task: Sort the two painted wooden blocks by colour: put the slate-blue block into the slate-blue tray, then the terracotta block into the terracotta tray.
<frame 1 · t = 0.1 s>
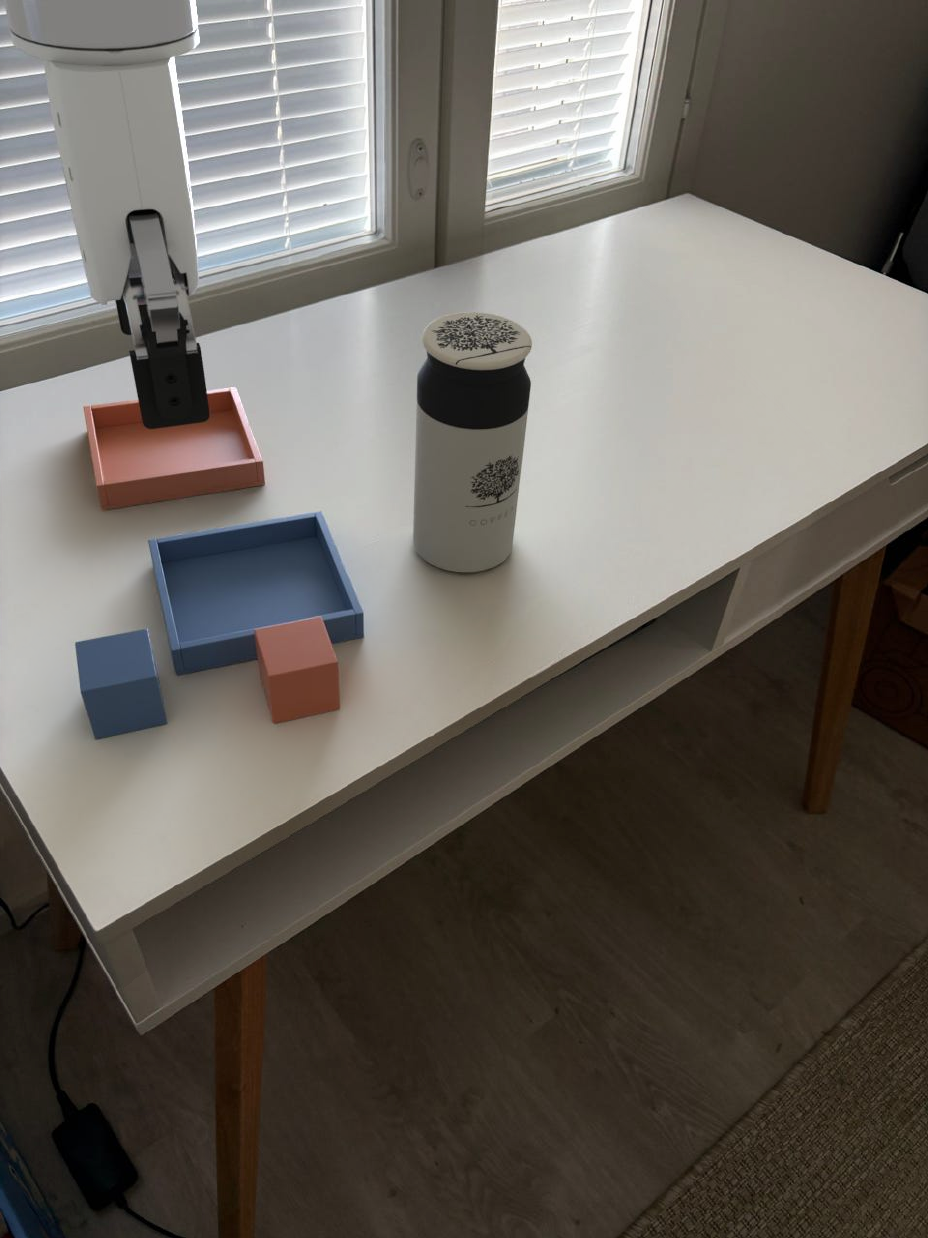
hand: (163, 373, 53), 23 cm above the table, tool pointing down, fingers open, 9 cm apart
travel mug: (462, 545, 81), on the table
terracotta block: (299, 692, 68), on the table
blue block: (127, 706, 66), on the table
blue tray: (255, 599, 75), on the table
terracotta tray: (174, 456, 87), on the table
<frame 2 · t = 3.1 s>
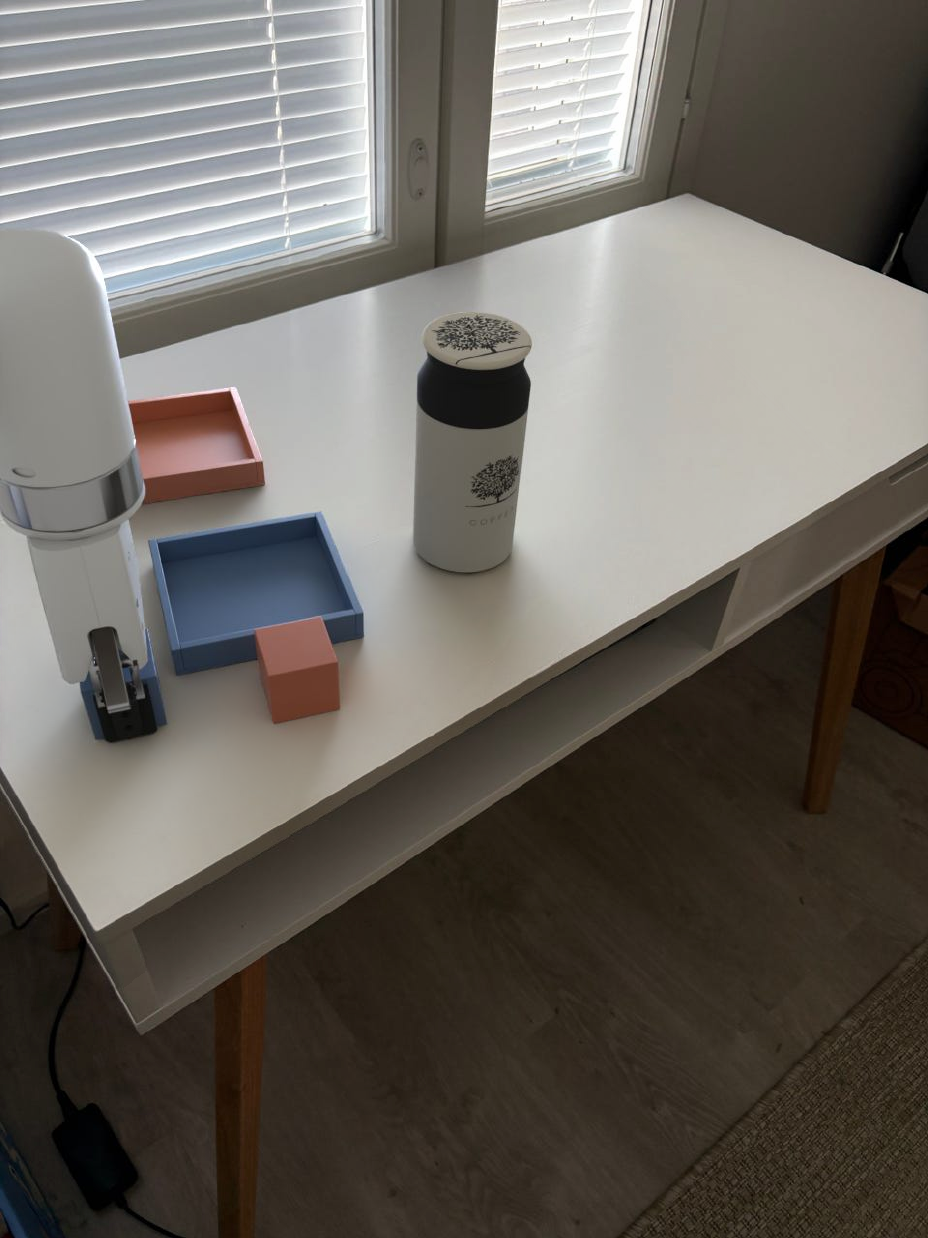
hand: (126, 703, 66), 0 cm above the table, tool pointing down, fingers closed on blue block, 4 cm apart
blue block: (127, 706, 66), on the table, touching gripper
everything else where it was.
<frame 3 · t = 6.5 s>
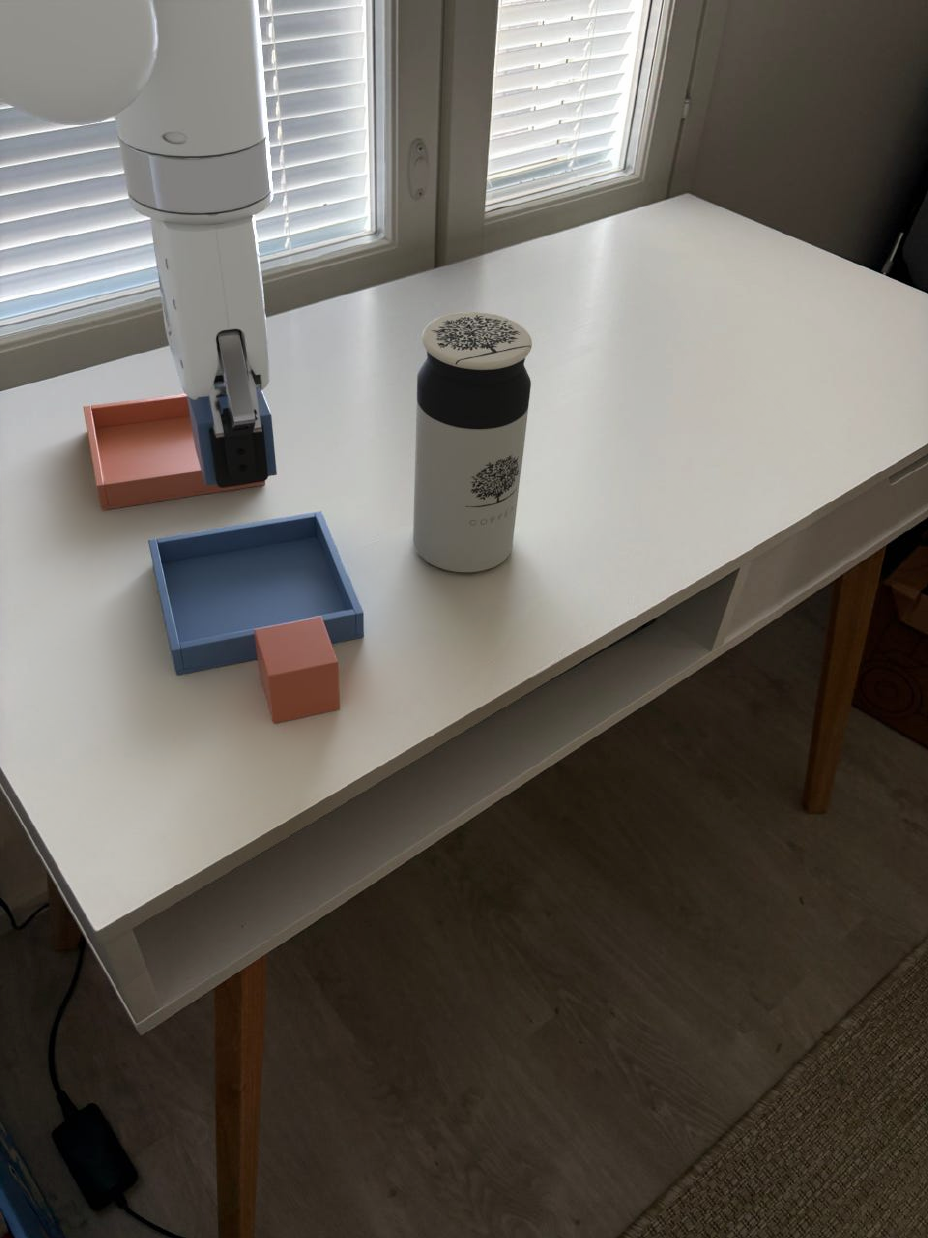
hand: (234, 456, 65), 13 cm above the table, tool pointing down, fingers closed on blue block, 4 cm apart
blue block: (235, 460, 66), point 13 cm above the table, touching gripper
everything else where it was.
when the fingers open (1 cm above the table, at t = 10.3 s): blue block stays where it is, resting on blue tray.
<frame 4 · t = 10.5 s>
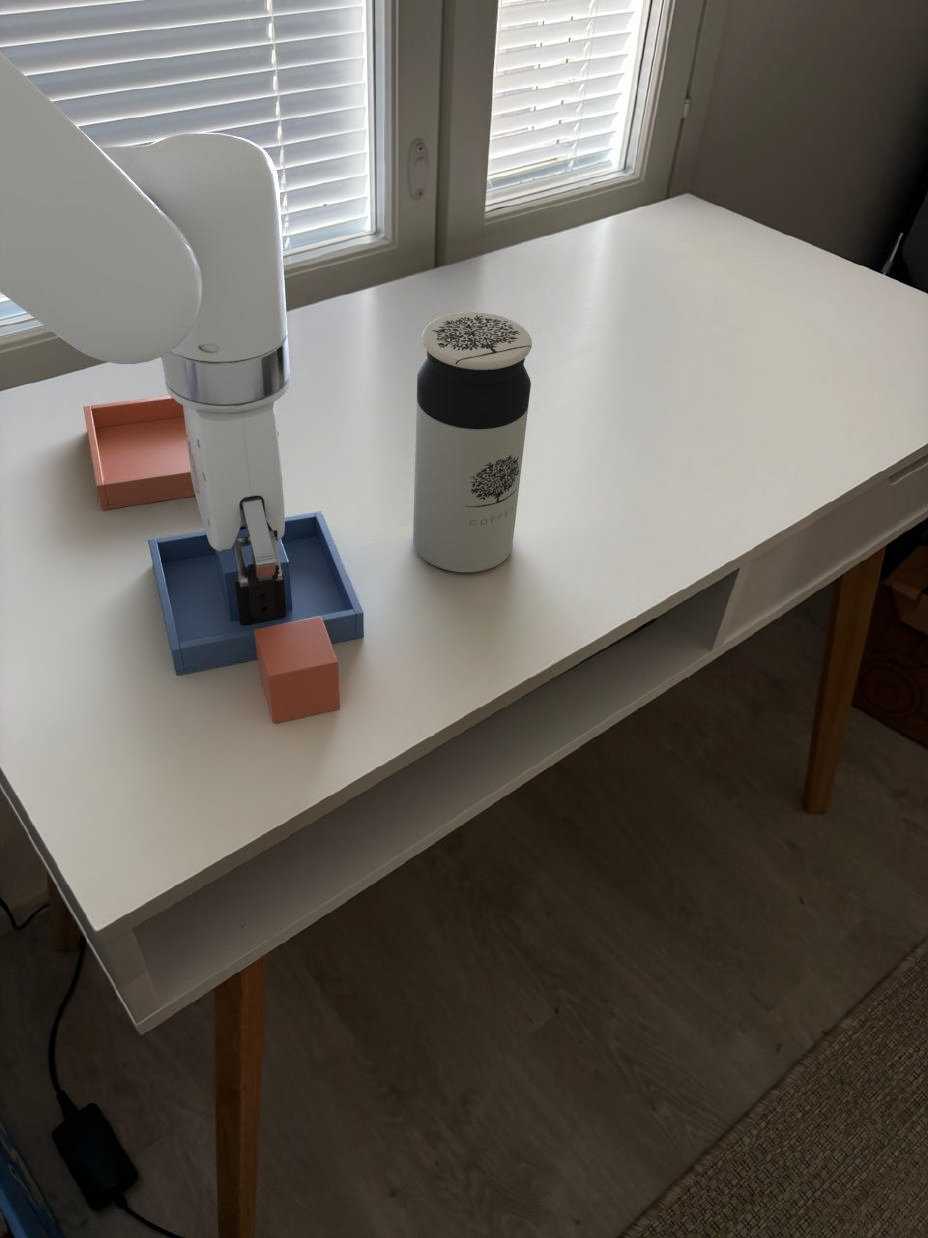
hand: (249, 575, 73), 2 cm above the table, tool pointing down, fingers open, 9 cm apart
blue block: (255, 595, 74), resting on blue tray
everything else where it was.
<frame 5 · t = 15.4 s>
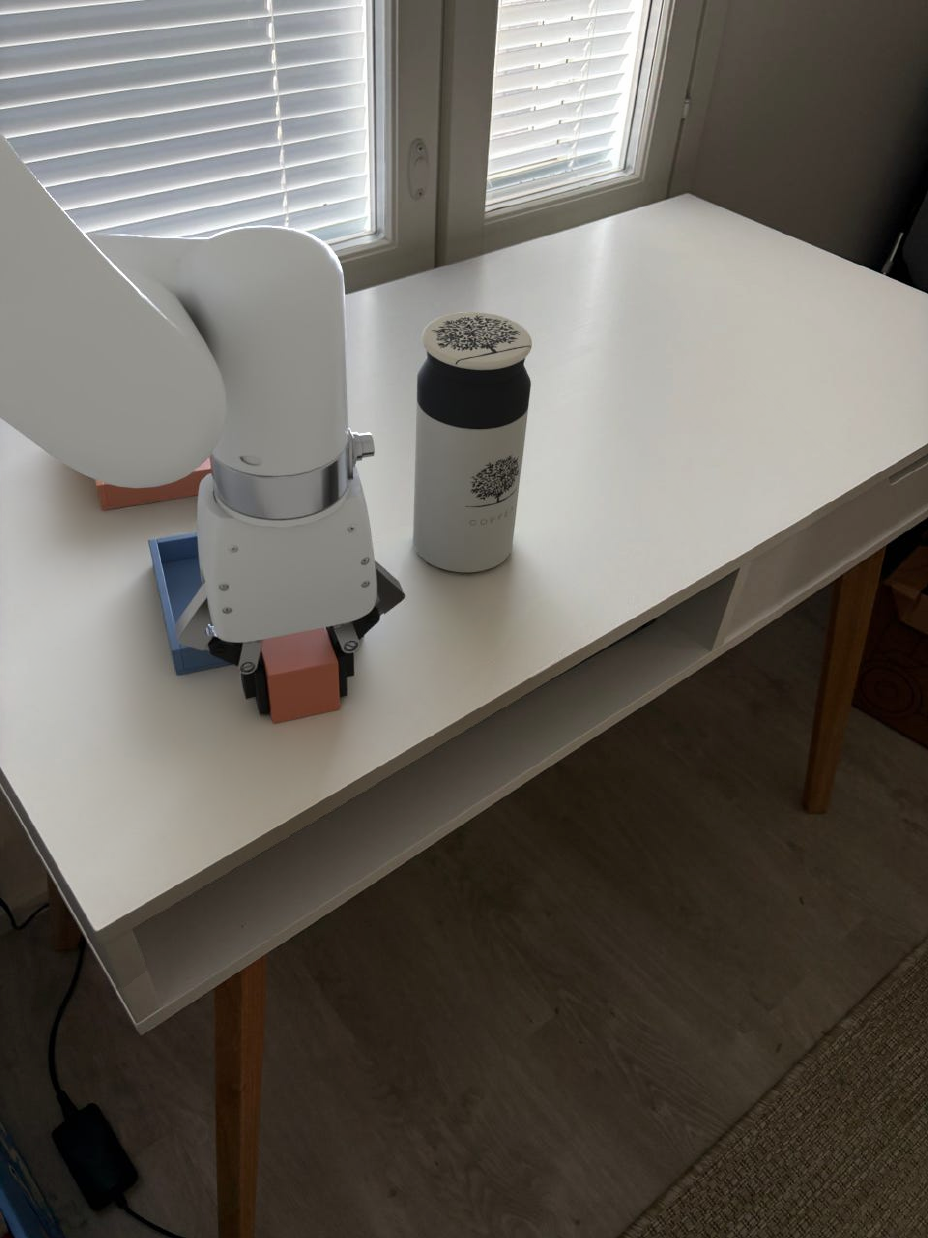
hand: (299, 688, 68), 0 cm above the table, tool pointing down, fingers closed on terracotta block, 4 cm apart
terracotta block: (299, 692, 68), on the table, touching gripper
everything else where it was.
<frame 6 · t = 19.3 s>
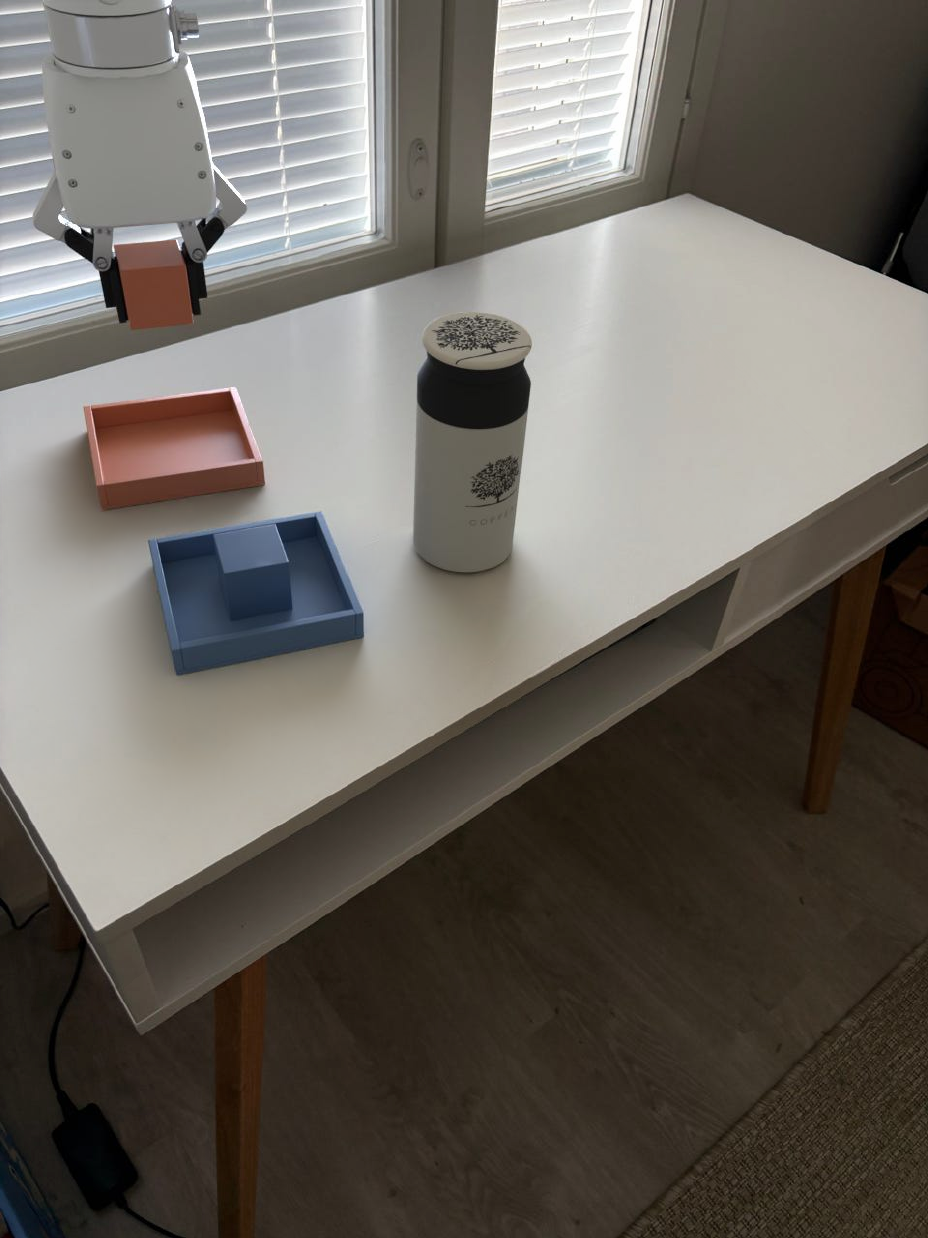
hand: (157, 308, 75), 15 cm above the table, tool pointing down, fingers closed on terracotta block, 4 cm apart
terracotta block: (158, 313, 75), point 15 cm above the table, touching gripper
everything else where it was.
when the fingers open (1 cm above the table, at t = 23.2 s): terracotta block stays where it is, resting on terracotta tray.
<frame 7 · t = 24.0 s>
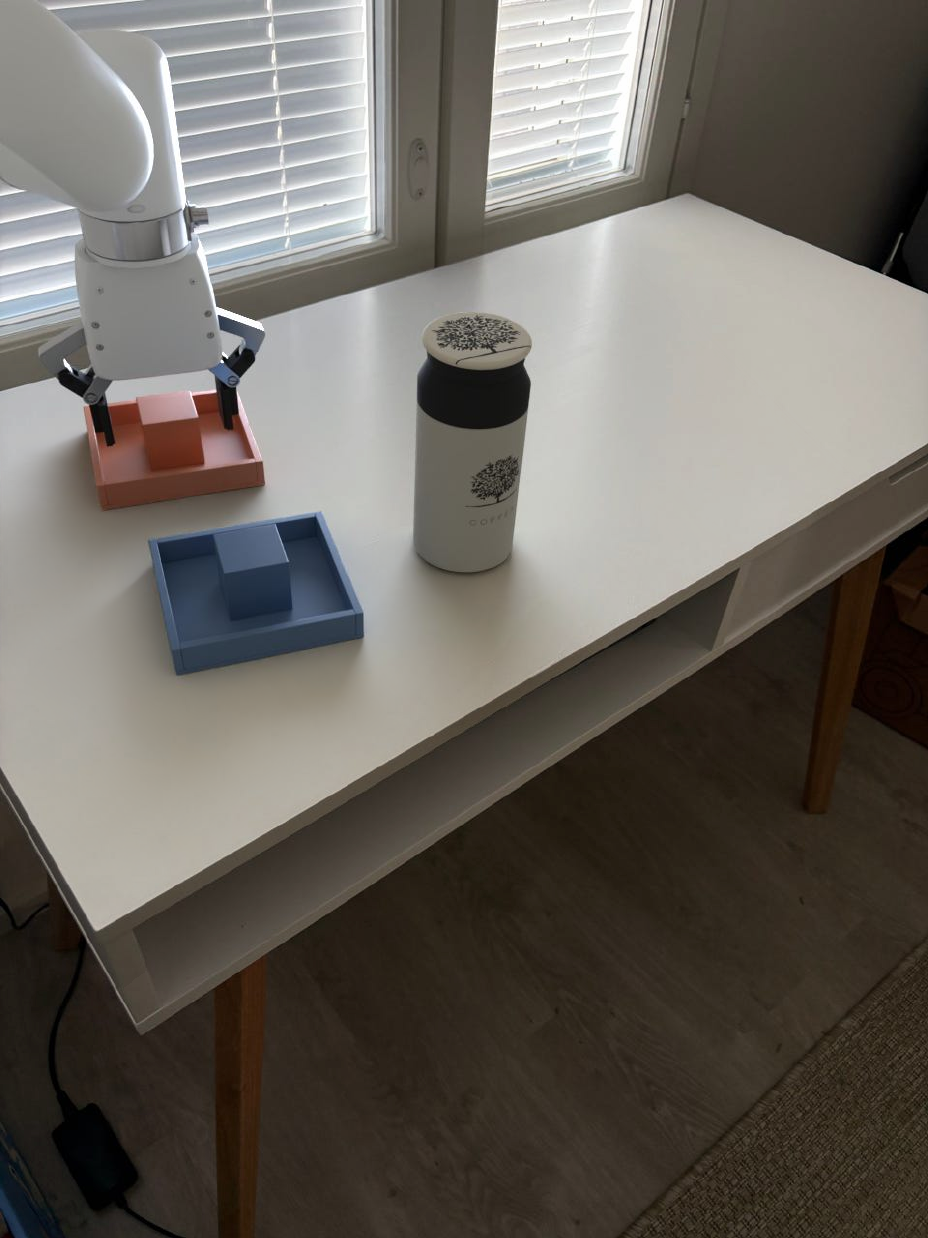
hand: (169, 429, 85), 3 cm above the table, tool pointing down, fingers open, 9 cm apart
terracotta block: (174, 452, 87), resting on terracotta tray
everything else where it was.
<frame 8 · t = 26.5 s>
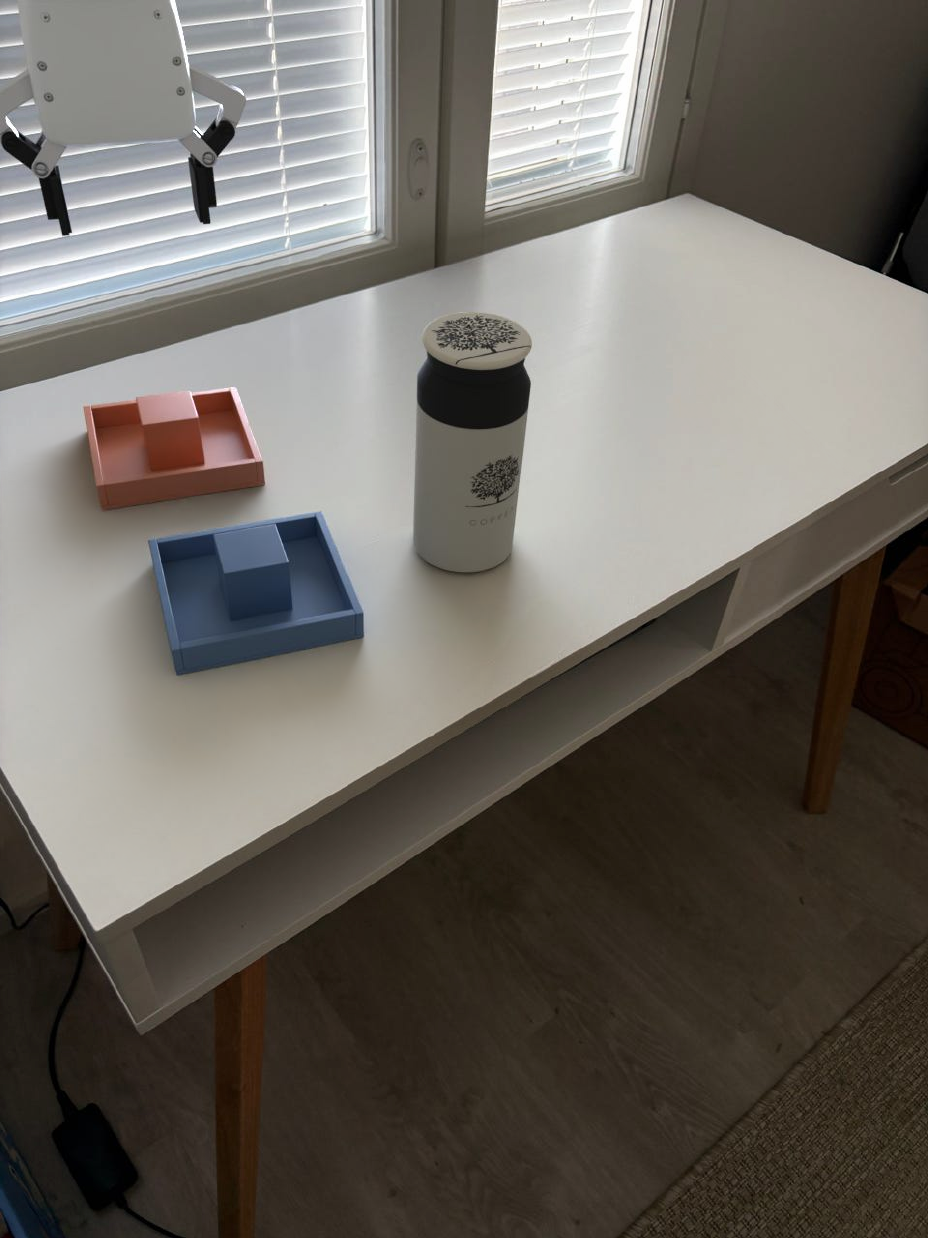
hand: (135, 222, 73), 20 cm above the table, tool pointing down, fingers open, 9 cm apart
nothing on the table moved.
at the end: blue block inside the target area in the blue tray (0.1 cm from its centre), point 0.4 cm above the blue tray's base; terracotta block inside the target area in the terracotta tray (0.0 cm from its centre), point 0.4 cm above the terracotta tray's base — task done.
